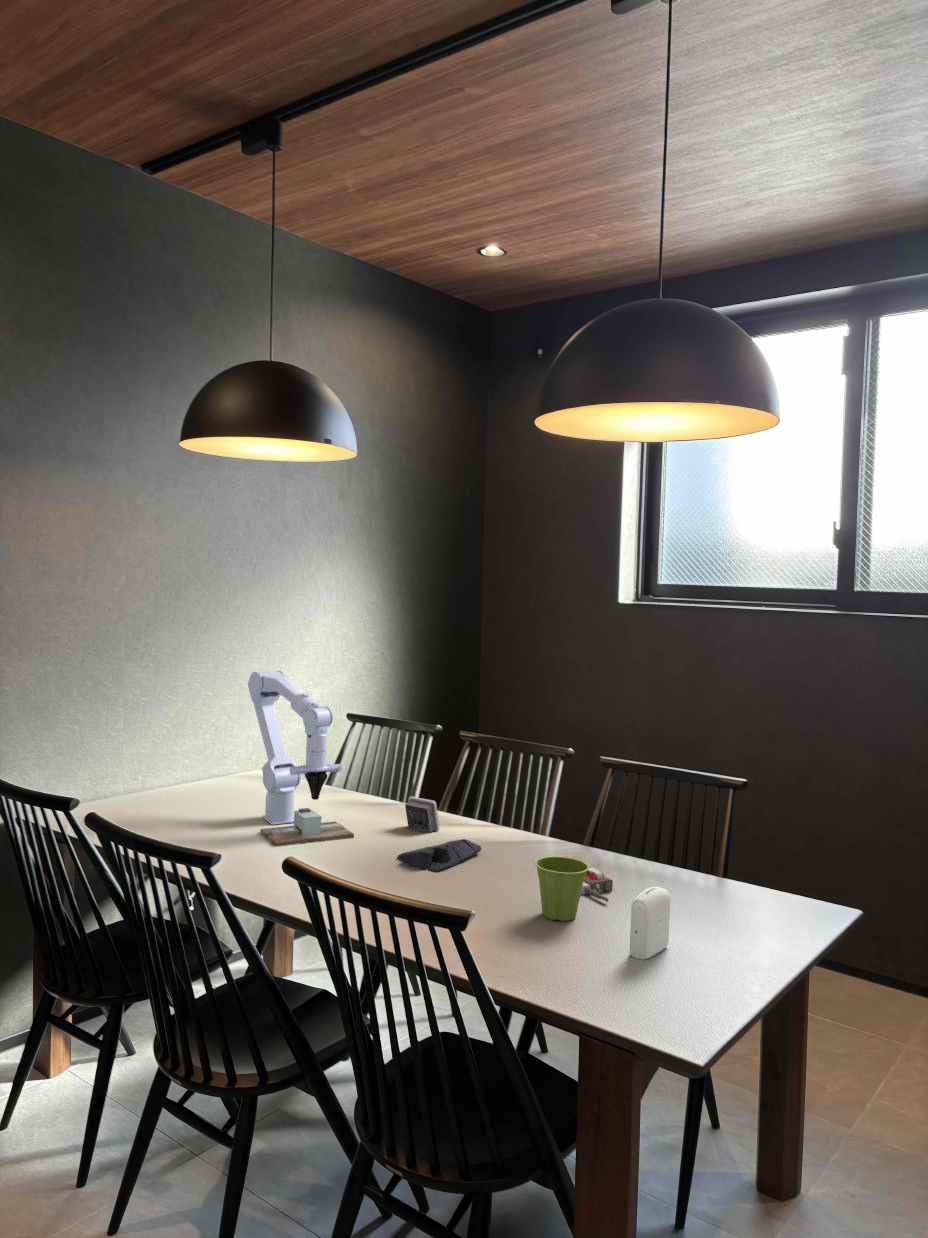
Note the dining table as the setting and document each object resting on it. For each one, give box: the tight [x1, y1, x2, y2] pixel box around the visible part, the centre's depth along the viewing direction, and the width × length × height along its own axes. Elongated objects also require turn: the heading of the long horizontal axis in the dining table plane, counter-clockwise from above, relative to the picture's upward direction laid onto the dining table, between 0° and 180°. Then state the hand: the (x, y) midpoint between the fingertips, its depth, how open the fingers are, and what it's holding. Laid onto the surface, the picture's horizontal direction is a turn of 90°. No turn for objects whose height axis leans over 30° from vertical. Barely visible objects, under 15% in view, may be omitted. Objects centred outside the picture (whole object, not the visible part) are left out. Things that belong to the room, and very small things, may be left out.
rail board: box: [259, 821, 355, 847], centre depth 249 cm, size 14×22×2 cm, turn 119°
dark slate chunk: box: [396, 838, 482, 873], centre depth 233 cm, size 15×22×5 cm
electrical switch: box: [404, 795, 440, 834], centre depth 258 cm, size 9×5×9 cm, turn 57°
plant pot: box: [534, 855, 591, 922], centre depth 194 cm, size 12×12×11 cm
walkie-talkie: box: [581, 867, 614, 903], centre depth 213 cm, size 9×4×20 cm
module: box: [293, 807, 322, 836], centre depth 249 cm, size 8×5×6 cm, turn 29°
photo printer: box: [629, 886, 671, 961], centre depth 177 cm, size 10×4×12 cm, turn 140°
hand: (315, 798), depth 252 cm, fingers closed
